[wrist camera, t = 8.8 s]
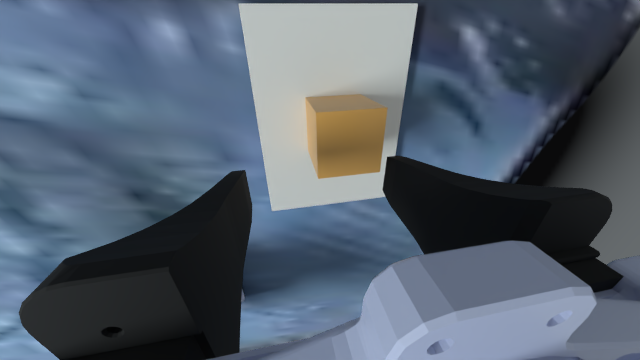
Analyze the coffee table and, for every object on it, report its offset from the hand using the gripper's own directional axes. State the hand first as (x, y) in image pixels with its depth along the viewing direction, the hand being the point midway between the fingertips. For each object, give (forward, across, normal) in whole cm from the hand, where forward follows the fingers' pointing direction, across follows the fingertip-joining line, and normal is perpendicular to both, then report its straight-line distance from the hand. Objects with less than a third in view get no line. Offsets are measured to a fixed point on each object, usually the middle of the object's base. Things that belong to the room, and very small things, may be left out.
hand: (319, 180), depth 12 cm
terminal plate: (+9, -3, 0) cm, 10 cm away
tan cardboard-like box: (+8, -3, 0) cm, 9 cm away
